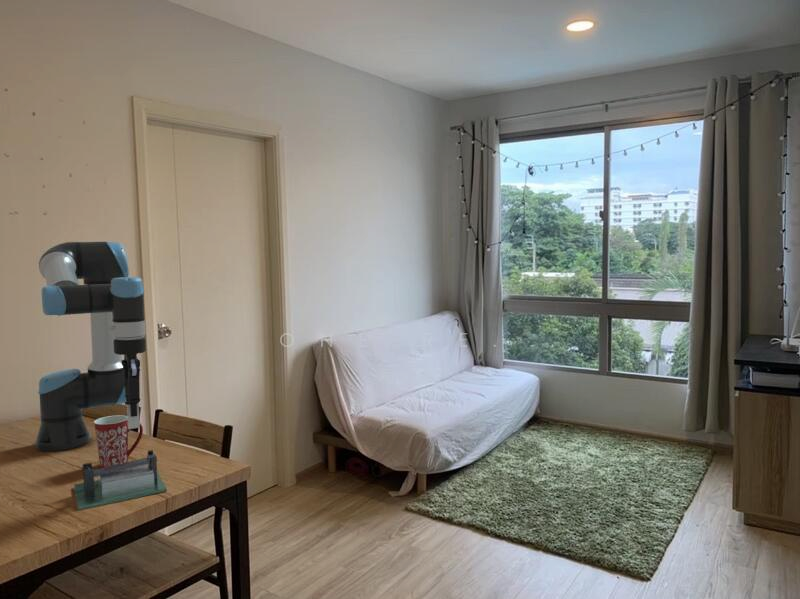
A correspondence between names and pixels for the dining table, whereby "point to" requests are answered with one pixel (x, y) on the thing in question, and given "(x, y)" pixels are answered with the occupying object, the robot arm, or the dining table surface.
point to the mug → (113, 440)
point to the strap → (123, 466)
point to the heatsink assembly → (118, 485)
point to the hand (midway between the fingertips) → (133, 427)
